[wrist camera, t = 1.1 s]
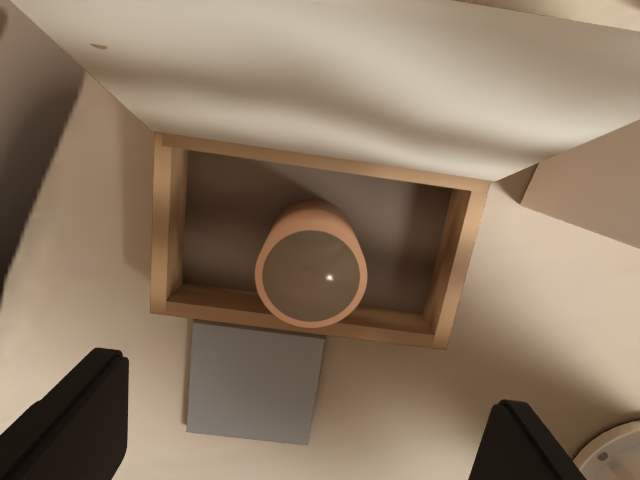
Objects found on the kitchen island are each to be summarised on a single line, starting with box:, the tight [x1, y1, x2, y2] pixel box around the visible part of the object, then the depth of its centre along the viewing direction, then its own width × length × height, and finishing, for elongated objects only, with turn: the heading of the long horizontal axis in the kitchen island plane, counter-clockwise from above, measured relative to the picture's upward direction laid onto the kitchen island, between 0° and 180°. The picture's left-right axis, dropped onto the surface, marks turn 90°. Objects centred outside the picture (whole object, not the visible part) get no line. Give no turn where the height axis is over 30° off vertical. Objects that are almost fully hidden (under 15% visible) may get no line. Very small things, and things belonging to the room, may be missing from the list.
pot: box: [255, 199, 367, 328], centre depth 24 cm, size 6×6×7 cm
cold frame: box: [10, 0, 640, 350], centre depth 19 cm, size 16×20×16 cm
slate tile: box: [186, 319, 325, 445], centre depth 30 cm, size 10×10×1 cm
